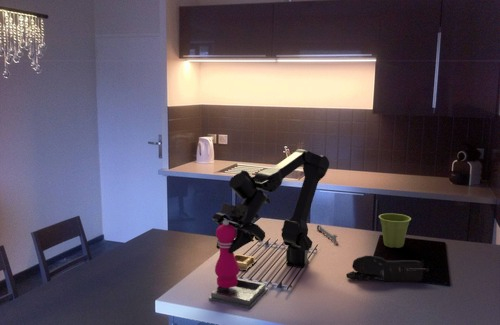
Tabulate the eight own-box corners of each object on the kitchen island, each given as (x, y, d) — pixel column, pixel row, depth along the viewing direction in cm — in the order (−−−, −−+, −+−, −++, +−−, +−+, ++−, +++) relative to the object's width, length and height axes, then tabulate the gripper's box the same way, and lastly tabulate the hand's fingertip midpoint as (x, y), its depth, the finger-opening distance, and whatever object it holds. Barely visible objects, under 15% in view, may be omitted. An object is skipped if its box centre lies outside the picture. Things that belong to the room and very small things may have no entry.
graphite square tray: (267, 289, 136) (267, 283, 135) (249, 308, 124) (249, 301, 124) (229, 282, 141) (229, 276, 141) (208, 299, 129) (208, 292, 129)
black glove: (427, 284, 141) (430, 260, 140) (349, 284, 140) (351, 259, 138) (418, 275, 148) (420, 252, 146) (343, 275, 146) (345, 251, 145)
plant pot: (412, 243, 176) (414, 215, 174) (405, 252, 166) (406, 223, 164) (382, 238, 182) (383, 211, 180) (373, 246, 172) (374, 218, 170)
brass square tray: (256, 261, 158) (256, 256, 157) (245, 271, 149) (245, 265, 149) (233, 257, 161) (233, 252, 161) (222, 266, 153) (222, 260, 153)
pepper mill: (239, 288, 131) (238, 223, 127) (214, 289, 131) (212, 223, 127) (239, 277, 138) (238, 215, 134) (215, 278, 138) (214, 216, 134)
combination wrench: (316, 223, 193) (335, 236, 174) (319, 222, 193) (338, 236, 174) (316, 231, 193) (335, 245, 174) (319, 231, 194) (338, 245, 174)
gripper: (216, 187, 139) (188, 229, 134) (257, 197, 125) (228, 245, 120) (235, 206, 146) (209, 247, 140) (277, 218, 132) (250, 264, 127)
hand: (223, 250), depth 132 cm, fingers closed on pepper mill, 5 cm apart
